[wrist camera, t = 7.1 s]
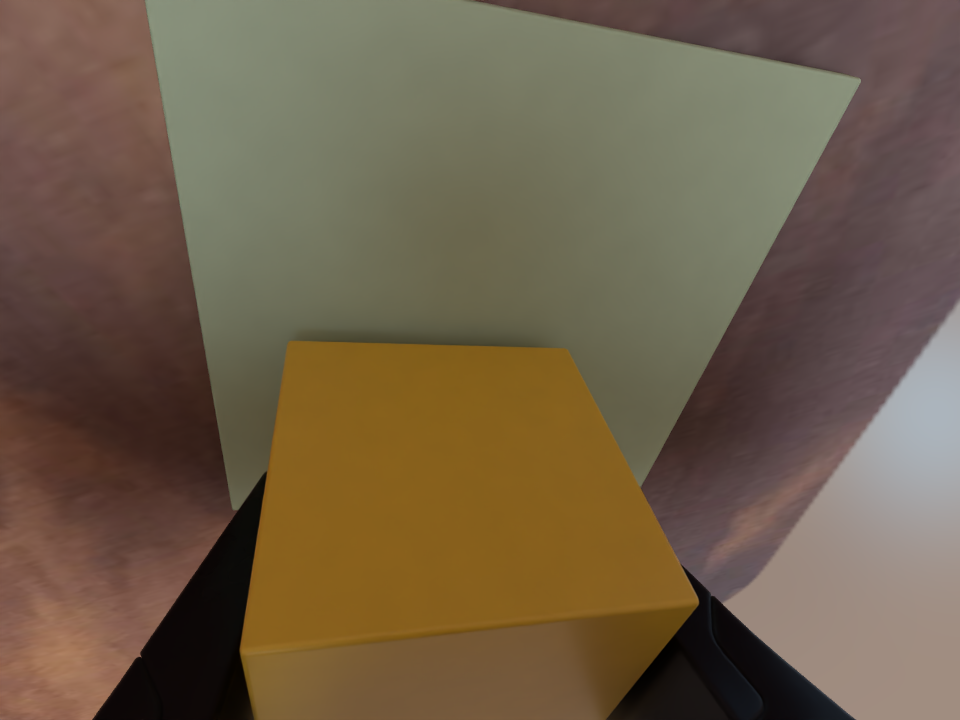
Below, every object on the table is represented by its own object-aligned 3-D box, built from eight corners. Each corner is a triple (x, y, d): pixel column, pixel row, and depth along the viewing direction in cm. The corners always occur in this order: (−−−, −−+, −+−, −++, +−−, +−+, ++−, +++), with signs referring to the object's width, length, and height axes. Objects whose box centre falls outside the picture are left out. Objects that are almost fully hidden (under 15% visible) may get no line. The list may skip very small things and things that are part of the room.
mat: (845, 73, 8) (863, 79, 8) (633, 480, 14) (638, 492, 14) (143, -66, 6) (132, -65, 6) (234, 496, 12) (231, 511, 12)
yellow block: (568, 346, 10) (703, 602, 6) (513, 510, 13) (581, 752, 9) (286, 338, 9) (238, 655, 5) (297, 522, 12) (271, 810, 8)
